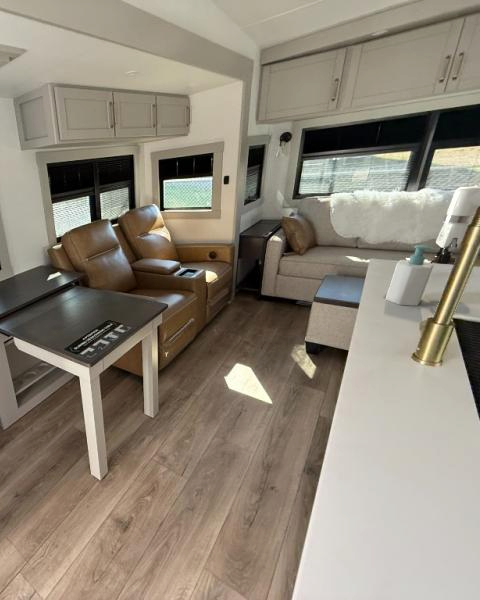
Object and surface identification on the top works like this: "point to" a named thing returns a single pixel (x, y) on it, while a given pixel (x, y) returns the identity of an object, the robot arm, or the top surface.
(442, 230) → the robot arm
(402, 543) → the top surface
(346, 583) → the top surface
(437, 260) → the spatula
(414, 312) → the top surface
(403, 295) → the soap bottle
